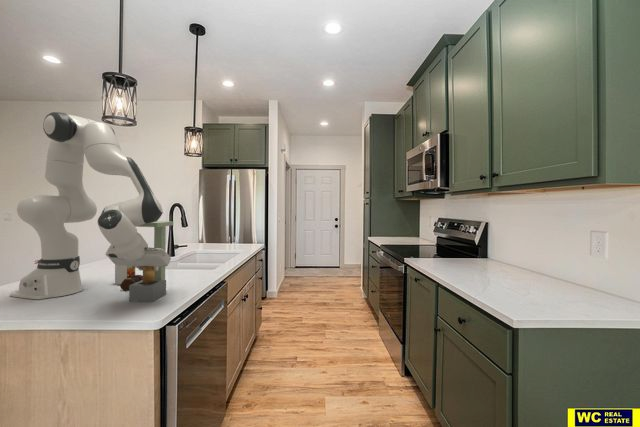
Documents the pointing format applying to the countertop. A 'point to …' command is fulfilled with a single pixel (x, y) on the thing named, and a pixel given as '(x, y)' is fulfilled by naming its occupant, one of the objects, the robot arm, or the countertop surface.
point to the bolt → (130, 282)
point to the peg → (148, 274)
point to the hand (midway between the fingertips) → (149, 269)
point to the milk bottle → (123, 273)
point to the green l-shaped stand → (159, 242)
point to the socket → (147, 291)
